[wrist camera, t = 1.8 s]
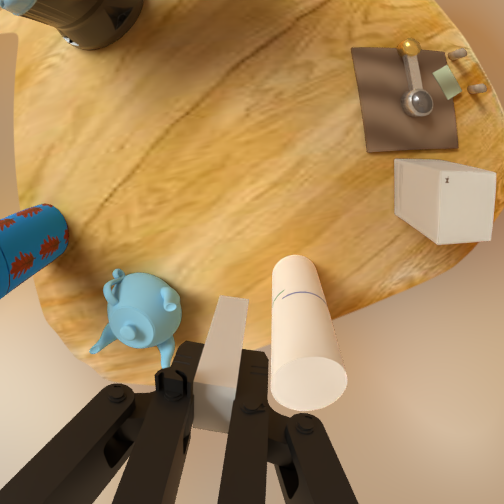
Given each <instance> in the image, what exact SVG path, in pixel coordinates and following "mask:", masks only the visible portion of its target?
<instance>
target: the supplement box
mask: <svg viewBox="0 0 504 504" xmlns="http://www.w3.org/2000/svg"><path fill="white" fill-rule="evenodd" d="M394 178H395V203H394V213H395V215H397V216H398V217H399V218H401V219H402V220H404V221H405V222H407V223H408V224H409V225H411V226H412V227H414V228H415V229H416V230H418V231H419V232H421V233H422V234H423V235H425V236H426V237H427V238H429V239H430V240H431V241H433V242H434V243H436V244H437V245H444V244H457V243H470V242H482V241H491V236H492V228H493V216H494V205H495V193H496V173H495V172H492V171H488V170H484V169H480V168H476V167H471V166H467V165H463V164H458V163H453V162H448V161H444V160H431V159H394Z"/></svg>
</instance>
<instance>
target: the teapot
mask: <svg viewBox="0 0 504 504" xmlns="http://www.w3.org/2000/svg"><path fill="white" fill-rule="evenodd" d="M113 277H114V278H115V279H113V280H111V281H109V282H107V283H106V284H105V285H104V288H103V293H104V296H105V298H106V300H107V302H108V305H107V312H108V320H109V323H108V324H107V325H106V327H105V328H104V330H103V333H102V335H101V337H100V339H99V340H98V342H97V343H96V344H95V345H94V346H93V347H92V348H91V349H90V351H89V352H90V353H91V354H95V353H98V352H99V351H101V350H102V349H103V348H104V347H106V346H107V345H108V344H110V343H112V342H113V341H115V340H116V339H119V340H120V341H121V342H122V343H124V344H125V345H127V346H130V347H133V348H149V347H153V346H156V345H157V347H158V348H159V351H160V353H161V366H162V369H163V368H167V367H170V362H171V358H172V356H173V353H174V349H175V341H174V337H173V334H174V333H175V332H176V330H177V328H178V327H179V325H180V322H181V318H182V310H181V305H180V297H179V294H178V293H177V292H176V291H175V290H174V289H173V288H171V287H170V286H169V285H168V284H167V283H166V282H164V281H163V280H162V279H160V278H158V277H156V276H154V275H151V274H147V273H132V274H129V275H126V276H125V273H124V272H123V271H122V270H121V269H115V270H114V271H113ZM114 284H115V286H114V287H113V289H112V291H111V286H112V285H114Z"/></svg>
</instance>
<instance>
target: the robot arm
mask: <svg viewBox="0 0 504 504" xmlns="http://www.w3.org/2000/svg"><path fill="white" fill-rule="evenodd" d="M142 5H143V0H0V7H1V8H3V9H5V10H7V11H9V12H12V13H13V14H14V15H18V16H22V17H26V18H29V19H32V20H35V21H38V22H41V23H44V24H47V25H50V26H53V27H55V28H56V29H57V30H58V31H59V33H60V34H61V35H62V37H63V38H64V39H65V40H66V41H67V42H68V43H69V44H71V45H73V46H75V47H78V48H81V49H85V50H94V49H99V48H102V47H105V46H107V45H109V44H111V43H113V42H115V41H116V40H118V39H119V38H120V37H122V36H123V35H124V34H125V33H126V32H127V31H128V30H129V29H130V28H131V26H132V25H133V24H134V22H135V21H136V19H137V18H138V16H139V14H140V11H141V8H142ZM248 303H249V299H243V298H236V297H229V296H222V295H220V297H219V300H218V303H217V307H216V310H215V313H214V316H213V319H212V323H211V326H210V329H209V332H208V335H207V339H206V342H205V344H202V343H196V342H190V341H185V342H184V343H183V344H181V345H180V346H179V348H178V350H177V352H176V356H175V357H174V360H173V362H172V365H171V367H167V368H163V369H161V370H159V371H158V372H157V373H156V374H155V385H156V391H154V392H150V393H134V392H133V391H132V389H131V388H130V387H128V386H126V385H124V384H111V385H108V386H106V387H105V388H103V389H102V390H101V391H100V392H99V393H98V394H97V395H96V396H95V397H94V398H93V399H92V400H91V401H90V402H89V403H88V404H87V405H86V406H85V407H84V408H83V409H82V410H81V411H80V412H79V413H78V414H77V415H76V416H75V417H74V418H73V419H72V420H71V421H70V422H69V423H68V424H67V425H66V426H65V427H63V429H61V430H60V432H58V433H57V434H56V435H55V436H54V438H52V440H50V442H48V443H47V444H46V445H45V446H44V447H43V448H42V449H41V450H40V451H39V452H38V453H37V454H36V455H35V456H34V457H33V458H32V459H31V460H30V461H29V462H28V463H27V464H26V465H25V466H24V467H23V468H22V469H21V470H20V471H19V472H18V473H17V474H16V475H15V476H14V477H13V478H12V479H11V480H10V481H9V482H8V483H7V484H6V485H5V486H4V487H3V488H2V489H1V490H0V504H92V503H93V502H94V501H95V500H96V498H97V497H98V496H99V495H100V493H101V492H102V490H104V488H105V487H106V486H107V484H108V483H109V482H110V481H111V479H112V478H113V477H114V476H115V474H116V473H117V472H118V470H119V469H120V468H121V466H122V465H123V464H124V463H125V461H126V460H127V459H128V457H129V456H130V457H129V460H128V462H127V465H126V467H125V470H124V472H123V475H122V478H121V481H120V483H119V486H118V488H117V491H116V494H115V496H114V499H113V502H112V504H175V499H176V495H177V491H178V487H179V483H180V479H181V475H182V471H183V467H184V462H185V459H186V454H187V450H188V446H189V442H190V438H191V435H190V434H191V427H192V424H193V428H198V429H203V430H209V431H215V432H222V433H228V438H227V445H226V451H225V458H224V464H223V471H222V477H221V484H220V490H219V497H218V504H265V496H266V474H267V462H270V463H273V464H274V466H275V469H276V473H277V476H278V480H279V483H280V486H281V490H282V493H283V496H284V500H285V503H286V504H358V502H357V500H356V497H355V495H354V493H353V490H352V488H351V486H350V484H349V481H348V479H347V477H346V475H345V473H344V471H343V468H342V466H341V464H340V461H339V459H338V457H337V455H336V453H335V450H334V448H333V446H332V444H331V441H330V440H329V437H328V435H327V433H326V430H325V428H324V426H323V424H322V422H321V421H320V420H319V419H318V418H317V417H315V416H313V415H310V414H308V413H299V414H295V415H293V416H292V417H291V418H289V417H287V416H283V415H281V414H279V413H277V412H275V411H274V410H273V409H272V408H271V407H270V406H269V404H268V400H267V393H268V361H269V360H268V358H267V356H266V355H265V353H264V352H261V351H253V350H246V349H242V345H243V338H244V331H245V324H246V317H247V310H248Z"/></svg>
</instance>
